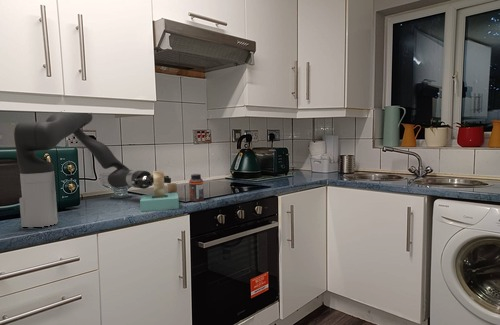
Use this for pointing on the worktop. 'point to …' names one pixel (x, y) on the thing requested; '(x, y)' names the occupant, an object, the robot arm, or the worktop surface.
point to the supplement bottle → (196, 188)
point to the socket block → (159, 202)
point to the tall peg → (159, 184)
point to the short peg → (172, 188)
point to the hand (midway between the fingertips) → (161, 181)
